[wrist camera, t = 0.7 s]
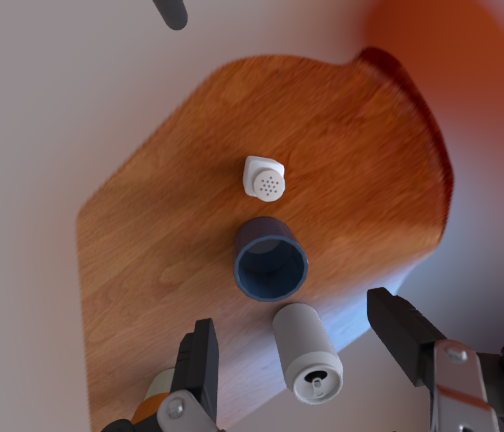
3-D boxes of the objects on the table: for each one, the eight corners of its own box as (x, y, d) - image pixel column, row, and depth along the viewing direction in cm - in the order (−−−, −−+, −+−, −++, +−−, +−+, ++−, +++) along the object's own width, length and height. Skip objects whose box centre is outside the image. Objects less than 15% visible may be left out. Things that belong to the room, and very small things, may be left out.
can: (314, 295, 41) (347, 357, 30) (318, 332, 44) (350, 403, 32) (268, 304, 41) (283, 370, 30) (275, 341, 43) (291, 415, 32)
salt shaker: (246, 154, 34) (252, 162, 25) (276, 159, 34) (293, 169, 25) (241, 184, 35) (245, 202, 26) (270, 188, 35) (284, 208, 26)
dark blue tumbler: (222, 258, 38) (220, 285, 31) (252, 205, 36) (257, 222, 29) (274, 282, 40) (283, 312, 33) (305, 233, 38) (321, 255, 31)
